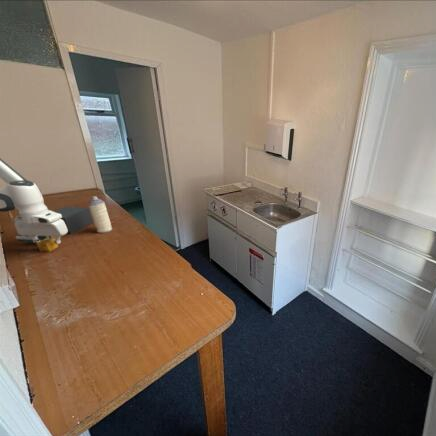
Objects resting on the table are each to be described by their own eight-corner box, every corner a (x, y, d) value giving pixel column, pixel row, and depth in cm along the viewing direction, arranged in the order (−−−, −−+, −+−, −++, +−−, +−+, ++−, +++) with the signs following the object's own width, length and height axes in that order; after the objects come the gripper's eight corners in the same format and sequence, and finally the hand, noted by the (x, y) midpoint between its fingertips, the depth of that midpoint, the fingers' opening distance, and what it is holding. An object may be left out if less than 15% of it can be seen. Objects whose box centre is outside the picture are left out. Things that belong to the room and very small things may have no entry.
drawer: (40, 247, 111) (33, 232, 107) (13, 246, 110) (6, 231, 107) (74, 230, 128) (69, 217, 125) (51, 229, 128) (46, 216, 125)
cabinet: (70, 234, 125) (64, 218, 121) (45, 233, 125) (38, 216, 121) (93, 222, 140) (88, 207, 136) (70, 221, 139) (65, 206, 136)
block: (40, 251, 109) (36, 242, 107) (49, 246, 113) (45, 238, 112) (49, 251, 109) (46, 243, 107) (58, 246, 113) (55, 238, 112)
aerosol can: (108, 227, 135) (98, 194, 127) (115, 229, 132) (105, 196, 124) (94, 231, 129) (83, 197, 121) (101, 234, 126) (90, 199, 119)
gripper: (5, 218, 102) (18, 245, 107) (52, 219, 102) (63, 247, 107) (20, 213, 107) (32, 239, 113) (64, 214, 108) (75, 240, 113)
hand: (48, 243), depth 110 cm, fingers open, 8 cm apart
